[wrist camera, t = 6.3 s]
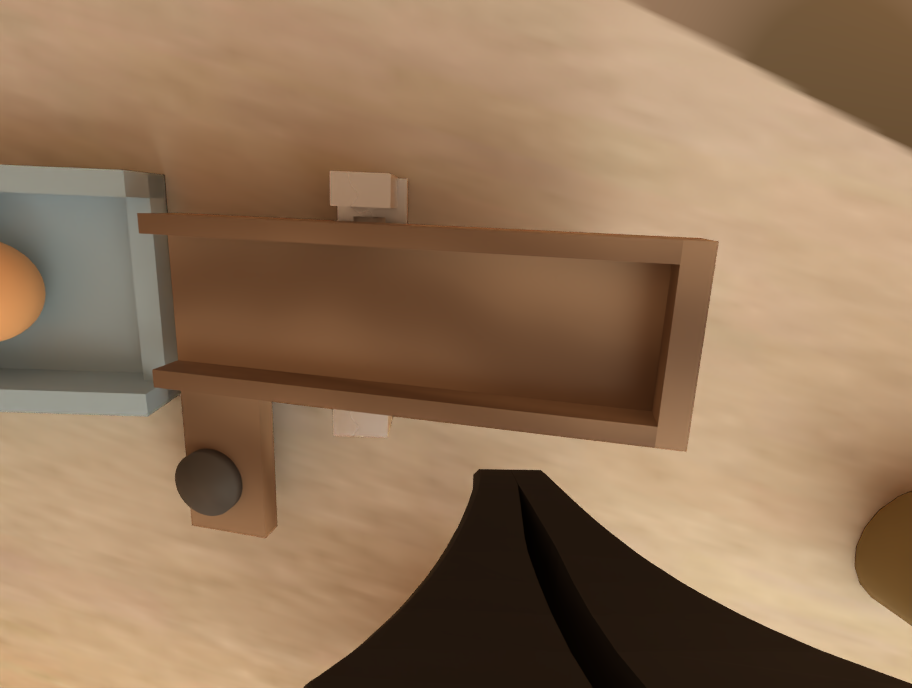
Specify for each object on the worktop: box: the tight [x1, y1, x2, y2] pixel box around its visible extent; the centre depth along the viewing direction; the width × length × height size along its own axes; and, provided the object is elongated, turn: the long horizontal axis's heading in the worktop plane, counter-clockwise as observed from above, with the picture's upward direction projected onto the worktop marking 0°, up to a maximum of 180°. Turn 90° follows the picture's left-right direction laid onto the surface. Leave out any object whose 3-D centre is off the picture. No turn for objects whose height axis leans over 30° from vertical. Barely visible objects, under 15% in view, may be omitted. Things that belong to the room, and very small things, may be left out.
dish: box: [0, 165, 181, 416], centre depth 18 cm, size 8×9×4 cm
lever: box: [137, 213, 719, 538], centre depth 17 cm, size 11×16×3 cm
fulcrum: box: [330, 171, 408, 438], centre depth 19 cm, size 8×2×3 cm, turn 178°
